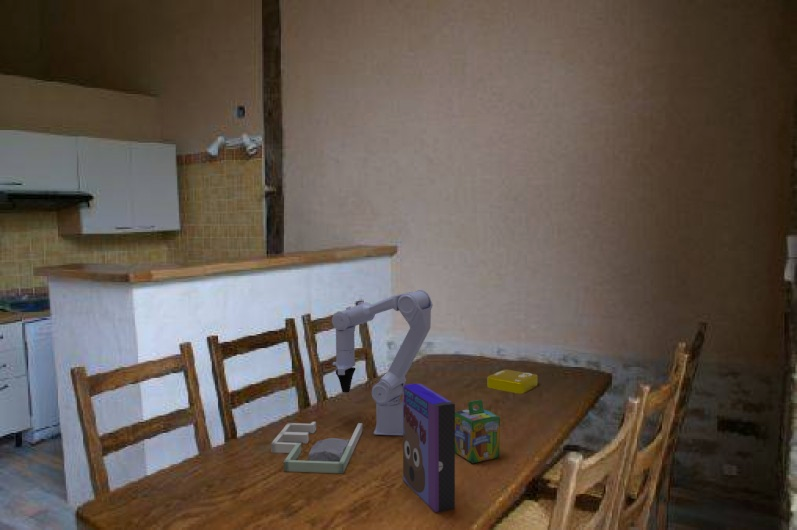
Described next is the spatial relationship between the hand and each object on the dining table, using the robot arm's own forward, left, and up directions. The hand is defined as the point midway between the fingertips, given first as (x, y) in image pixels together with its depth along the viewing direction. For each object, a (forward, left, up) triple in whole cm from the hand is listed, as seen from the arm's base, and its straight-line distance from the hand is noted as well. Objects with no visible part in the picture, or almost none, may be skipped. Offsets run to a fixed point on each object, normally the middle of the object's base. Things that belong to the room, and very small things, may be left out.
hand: (345, 391), depth 188 cm
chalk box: (-40, +22, -10) cm, 47 cm away
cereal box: (-28, +46, -10) cm, 55 cm away
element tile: (-55, -45, -11) cm, 72 cm away
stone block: (0, +27, -10) cm, 29 cm away
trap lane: (+5, +22, -10) cm, 25 cm away
